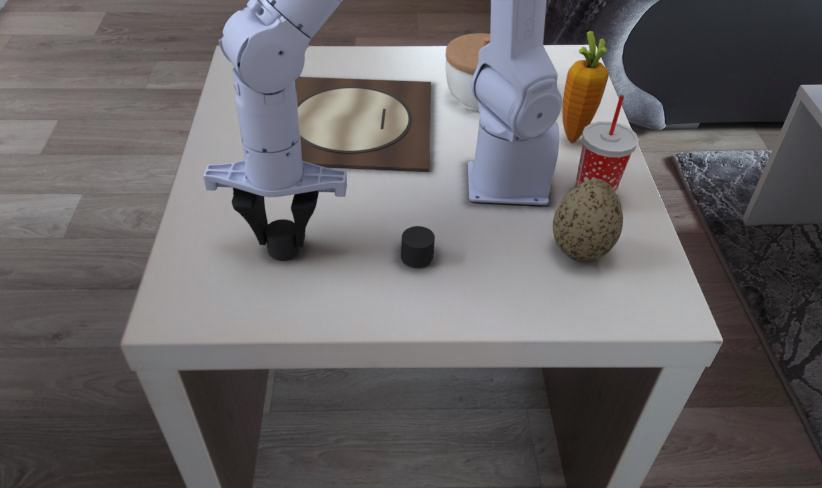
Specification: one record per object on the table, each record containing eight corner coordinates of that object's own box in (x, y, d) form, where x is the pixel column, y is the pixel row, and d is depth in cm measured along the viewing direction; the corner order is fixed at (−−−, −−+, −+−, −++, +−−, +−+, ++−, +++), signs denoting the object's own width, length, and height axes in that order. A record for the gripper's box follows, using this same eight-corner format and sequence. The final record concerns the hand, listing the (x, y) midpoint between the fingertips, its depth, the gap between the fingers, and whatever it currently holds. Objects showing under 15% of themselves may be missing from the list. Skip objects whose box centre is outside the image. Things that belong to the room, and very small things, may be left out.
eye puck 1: (301, 239, 79) (300, 219, 77) (297, 261, 77) (295, 241, 75) (270, 238, 80) (268, 218, 77) (264, 259, 77) (262, 239, 75)
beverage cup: (626, 212, 83) (661, 108, 73) (577, 217, 82) (606, 113, 72) (606, 181, 87) (636, 79, 77) (559, 186, 86) (584, 84, 76)
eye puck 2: (433, 246, 78) (435, 226, 76) (433, 268, 76) (434, 248, 74) (401, 245, 79) (402, 225, 77) (400, 267, 76) (401, 246, 74)
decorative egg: (621, 273, 75) (647, 201, 68) (556, 277, 75) (576, 205, 68) (599, 230, 80) (621, 158, 73) (538, 234, 80) (555, 162, 73)
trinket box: (436, 115, 98) (441, 53, 91) (447, 78, 105) (453, 18, 99) (512, 124, 96) (523, 61, 90) (518, 86, 104) (529, 25, 97)
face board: (430, 84, 104) (431, 80, 104) (428, 171, 88) (428, 167, 88) (286, 79, 105) (285, 75, 105) (258, 164, 90) (257, 159, 89)
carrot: (591, 155, 91) (620, 47, 80) (552, 151, 92) (576, 44, 81) (589, 134, 94) (617, 28, 84) (552, 130, 95) (575, 25, 85)
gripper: (348, 117, 70) (351, 220, 80) (207, 111, 71) (226, 214, 80) (341, 157, 65) (344, 262, 75) (189, 151, 66) (212, 255, 75)
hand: (282, 240), depth 77 cm, fingers closed on eye puck 1, 3 cm apart
